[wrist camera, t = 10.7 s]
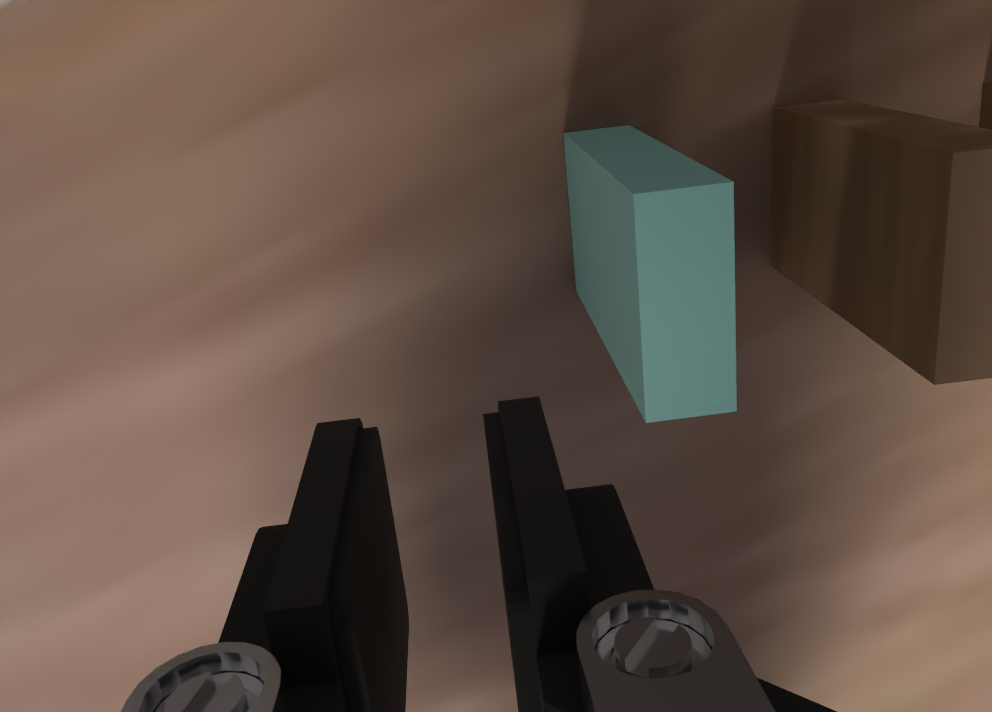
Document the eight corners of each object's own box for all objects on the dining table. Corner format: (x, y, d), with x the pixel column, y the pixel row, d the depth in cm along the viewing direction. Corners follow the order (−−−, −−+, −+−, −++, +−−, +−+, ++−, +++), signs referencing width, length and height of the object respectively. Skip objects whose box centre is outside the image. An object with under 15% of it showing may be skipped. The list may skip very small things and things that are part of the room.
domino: (838, 99, 27) (1051, 141, 18) (832, 258, 29) (1024, 373, 19) (773, 106, 27) (953, 153, 18) (771, 265, 29) (933, 384, 19)
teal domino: (628, 125, 27) (733, 181, 18) (637, 283, 29) (736, 411, 19) (563, 132, 27) (633, 194, 17) (576, 291, 29) (646, 422, 19)
